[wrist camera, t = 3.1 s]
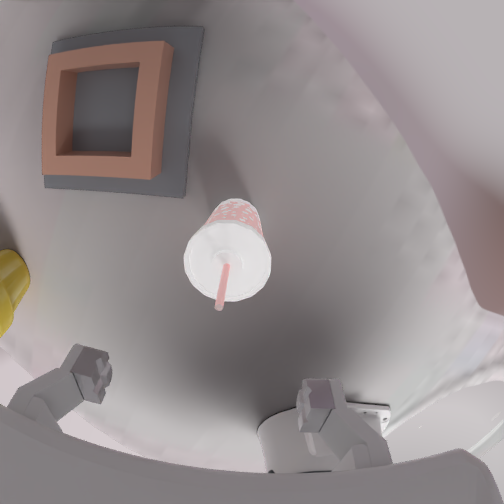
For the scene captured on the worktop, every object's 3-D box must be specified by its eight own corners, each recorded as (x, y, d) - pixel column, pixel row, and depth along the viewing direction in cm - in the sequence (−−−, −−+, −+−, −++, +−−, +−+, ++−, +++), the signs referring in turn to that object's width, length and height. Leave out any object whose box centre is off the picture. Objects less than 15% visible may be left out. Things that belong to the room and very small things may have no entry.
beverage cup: (227, 261, 31) (209, 361, 18) (191, 213, 29) (142, 291, 16) (280, 230, 30) (295, 320, 17) (244, 177, 27) (232, 234, 15)
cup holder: (204, 29, 21) (195, 16, 18) (185, 195, 28) (174, 207, 25) (58, 43, 21) (36, 38, 17) (49, 185, 28) (28, 195, 24)
